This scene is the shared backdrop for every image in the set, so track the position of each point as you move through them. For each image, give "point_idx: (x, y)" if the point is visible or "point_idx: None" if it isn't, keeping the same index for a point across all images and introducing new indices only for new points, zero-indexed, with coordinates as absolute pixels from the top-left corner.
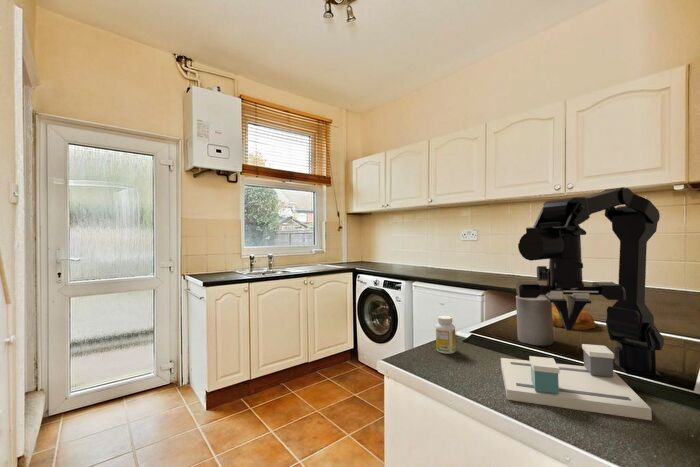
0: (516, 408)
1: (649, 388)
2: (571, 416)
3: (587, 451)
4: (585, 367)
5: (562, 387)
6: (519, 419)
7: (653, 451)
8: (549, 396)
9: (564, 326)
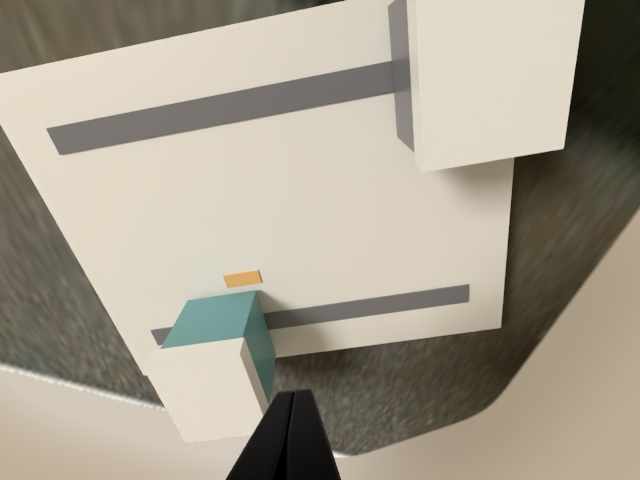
0: None
1: (618, 41)
2: (307, 363)
3: None
4: (390, 40)
5: (285, 298)
6: None
7: (433, 412)
8: None
9: (266, 411)
